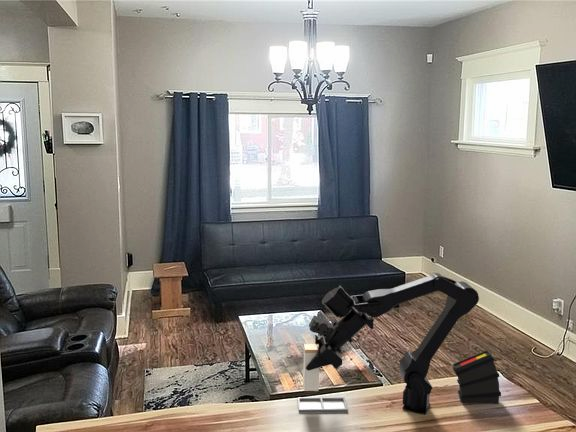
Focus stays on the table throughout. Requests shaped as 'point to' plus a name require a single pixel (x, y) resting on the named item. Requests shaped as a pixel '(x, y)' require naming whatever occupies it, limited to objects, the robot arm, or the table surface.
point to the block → (312, 375)
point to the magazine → (478, 379)
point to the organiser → (321, 404)
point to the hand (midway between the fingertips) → (306, 365)
